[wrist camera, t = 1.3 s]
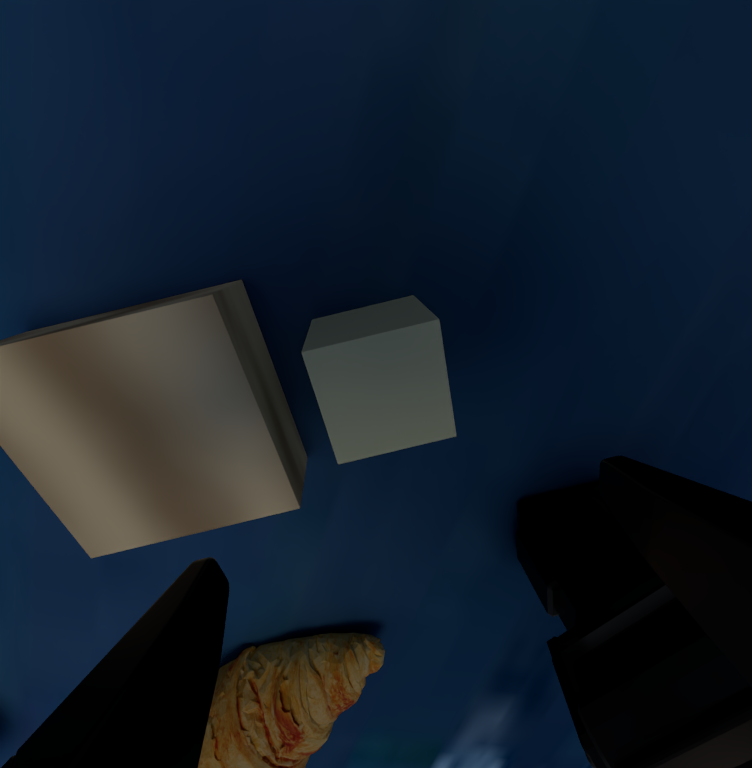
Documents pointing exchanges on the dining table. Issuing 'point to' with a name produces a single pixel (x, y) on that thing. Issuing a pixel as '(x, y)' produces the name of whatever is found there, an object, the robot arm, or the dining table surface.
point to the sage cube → (380, 378)
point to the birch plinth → (152, 420)
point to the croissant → (285, 699)
